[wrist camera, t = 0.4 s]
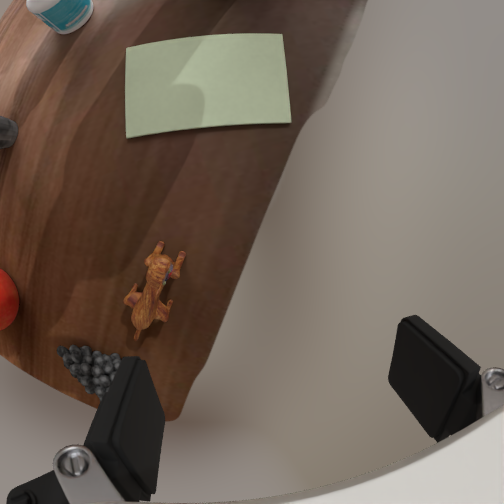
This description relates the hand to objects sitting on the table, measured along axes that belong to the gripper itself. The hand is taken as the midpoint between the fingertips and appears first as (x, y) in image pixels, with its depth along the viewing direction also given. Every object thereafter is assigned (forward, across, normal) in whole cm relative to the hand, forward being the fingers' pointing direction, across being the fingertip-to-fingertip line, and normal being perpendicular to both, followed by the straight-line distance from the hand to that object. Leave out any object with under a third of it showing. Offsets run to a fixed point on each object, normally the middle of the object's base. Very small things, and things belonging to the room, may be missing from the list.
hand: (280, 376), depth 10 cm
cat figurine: (+31, +12, +8) cm, 34 cm away
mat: (+31, +2, -20) cm, 37 cm away
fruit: (+31, +25, +19) cm, 44 cm away
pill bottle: (+31, +23, -38) cm, 54 cm away
